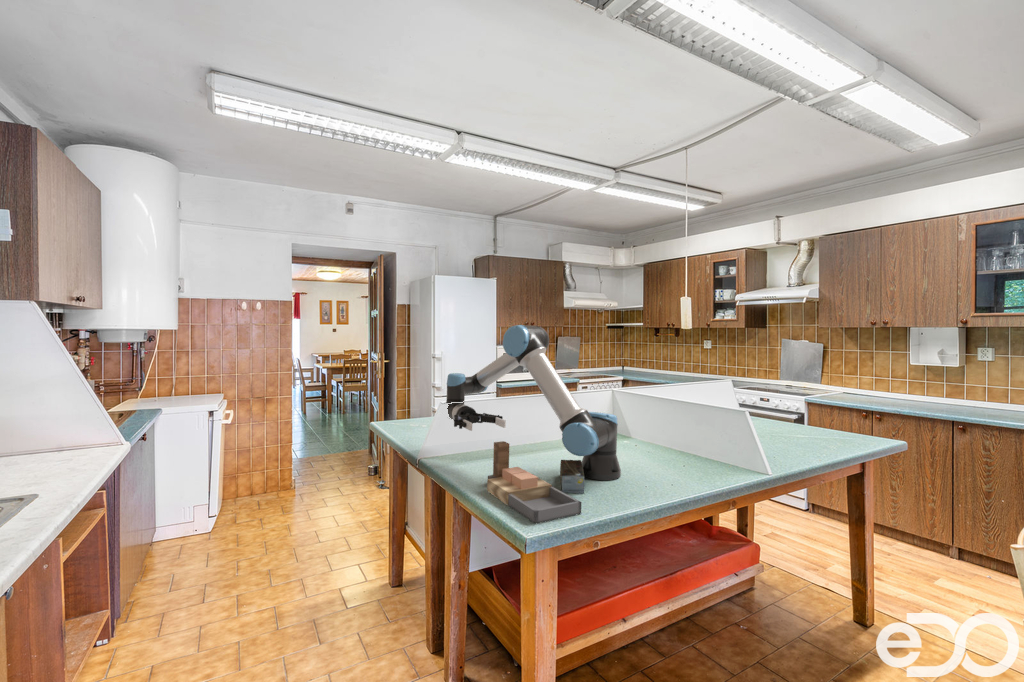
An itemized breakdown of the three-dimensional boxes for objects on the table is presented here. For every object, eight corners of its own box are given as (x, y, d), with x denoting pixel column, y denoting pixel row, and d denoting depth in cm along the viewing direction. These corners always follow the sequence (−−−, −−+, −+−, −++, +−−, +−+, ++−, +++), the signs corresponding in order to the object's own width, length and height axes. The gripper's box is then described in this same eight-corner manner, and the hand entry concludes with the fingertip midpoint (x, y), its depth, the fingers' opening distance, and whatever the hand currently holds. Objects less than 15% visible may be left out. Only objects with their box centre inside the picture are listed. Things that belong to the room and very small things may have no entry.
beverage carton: (560, 493, 157) (560, 473, 157) (559, 475, 176) (560, 457, 176) (584, 494, 156) (585, 474, 156) (581, 476, 175) (581, 458, 175)
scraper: (487, 482, 165) (488, 442, 164) (507, 479, 169) (508, 440, 168) (493, 486, 161) (494, 445, 161) (513, 483, 165) (514, 443, 165)
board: (487, 491, 156) (487, 479, 156) (528, 484, 164) (528, 472, 164) (507, 505, 144) (508, 492, 144) (551, 497, 152) (551, 484, 152)
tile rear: (502, 477, 158) (502, 469, 158) (517, 475, 161) (518, 466, 161) (511, 483, 153) (511, 473, 153) (527, 480, 156) (527, 471, 155)
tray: (508, 505, 144) (508, 494, 144) (551, 497, 152) (552, 486, 152) (535, 524, 131) (535, 511, 131) (581, 513, 139) (581, 502, 139)
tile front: (511, 483, 152) (511, 474, 152) (527, 480, 155) (527, 471, 155) (521, 489, 147) (521, 479, 147) (537, 486, 150) (537, 477, 150)
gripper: (491, 421, 198) (517, 432, 179) (434, 426, 186) (456, 438, 167) (492, 404, 198) (518, 413, 179) (435, 407, 185) (456, 417, 167)
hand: (488, 425), depth 173 cm, fingers open, 13 cm apart
